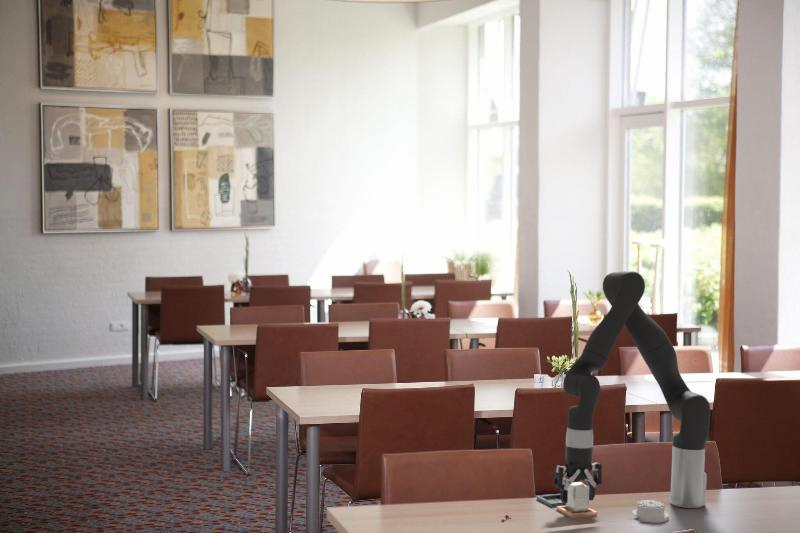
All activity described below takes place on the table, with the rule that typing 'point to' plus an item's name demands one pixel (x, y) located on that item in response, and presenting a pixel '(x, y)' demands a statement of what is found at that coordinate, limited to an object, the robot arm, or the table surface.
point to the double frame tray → (564, 507)
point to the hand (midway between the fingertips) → (577, 501)
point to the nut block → (578, 498)
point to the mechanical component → (650, 511)
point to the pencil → (505, 518)
